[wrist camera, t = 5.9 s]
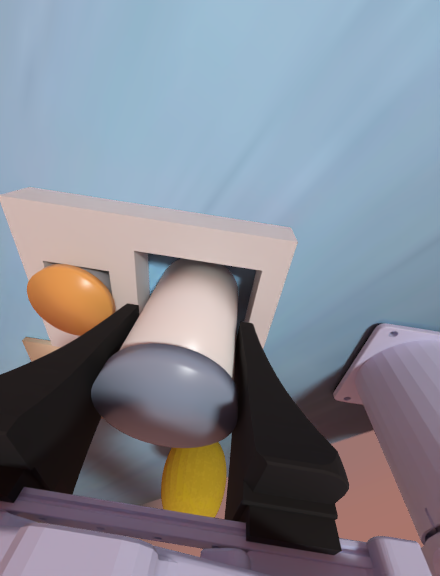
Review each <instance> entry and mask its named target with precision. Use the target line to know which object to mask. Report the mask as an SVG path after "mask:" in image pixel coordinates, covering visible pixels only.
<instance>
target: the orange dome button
mask: <svg viewBox="0 0 440 576" xmlns="http://www.w3.org/2000/svg"><path fill="white" fill-rule="evenodd" d="M27 294H28V298H29V301H30V303H31V305H32V306H33V308H34V309H35V311H36V312H37V313H38V314H39V315H40V316H41V317H42V318H43V319H44V320H45V321H46V322H48V323H49V324H51V325H52V326H54V327H55V328H57V329H59V330H61V331H64V332H66V333H69V334H73V335H78V336H81V335H83V334H84V333H86V332H87V331H89V330H91V329H92V328H94V327H95V326H96V325H98V324H99V323H101V322H102V321H104V320H105V319H106V318H108V317H109V316H110V315H112V314H113V313H115V303H114V299H113V297H112V290H111V283H110V276H109V271H104V270H98V269H92V268H85V267H79V266H73V265H68V264H53V265H49V266H47V267H45V268H43V269H42V270H40V271H39V272H37V273H36V274H35V275H33V276H32V277H31V279H30V280H29V282H28V285H27Z"/></svg>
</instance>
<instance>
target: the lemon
mask: <svg viewBox="0 0 440 576" xmlns="http://www.w3.org/2000/svg"><path fill="white" fill-rule="evenodd" d="M225 484H226V462H225V456H224V453H223V450H222V447H221V446H220V444H219V443H218V442H216V443H214V444H211V445H207V446H202V447H195V448H173V447H172V448H171V450H170V452H169V455H168V457H167V460H166V463H165V466H164V470H163V475H162V484H161V499H162V505H163V509H164V510H170V511H176V512H182V513H188V514H194V515H200V516H207V517H213V518H215V516H216V514H217V512H218V510H219V508H220V505H221V502H222V499H223V495H224V491H225Z"/></svg>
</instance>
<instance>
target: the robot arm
mask: <svg viewBox="0 0 440 576" xmlns="http://www.w3.org/2000/svg"><path fill="white" fill-rule="evenodd" d="M138 317H139V305H134V304H128V303H127V304H126V305H124V306H123V307H121V308H120V309H119V310H117V311H116V312H115V313H113V314H112V315H110V316H109V317H108V318H106V319H105V320H104V321H102V322H101V323H99V324H98V325H96V326H95V327H94V328H92V329H91V330H89V331H87V332H86V333H84V334H83V335H81V336H80V337H78V338H77V339H75V340H73V341H71V342H70V343H68V344H66V345H64V346H63V347H61V348H59V349H57V350H55V351H53V352H51V353H49V354H47V355H45V356H43V357H41V358H39V359H36V360H34V361H32V362H30V363H28V364H26V365H23V366H21V367H18V368H16V369H14V370H11V371H9V372H6V373H3V374H1V375H0V576H440V332H437V331H431V330H424V329H418V328H412V327H405V326H399V325H393V324H380V325H378V326H377V327H376V328H375V329H374V331H373V332H372V334H371V335H370V337H369V338H368V340H367V341H366V343H365V345H364V346H363V348H362V349H361V351H360V352H359V354H358V355H357V357H356V359H355V360H354V362H353V363H352V365H351V366H350V368H349V369H348V371H347V372H346V374H345V376H344V377H343V379H342V380H341V382H340V383H339V385H338V386H337V388H336V389H335V391H334V393H333V396H334V399H335V400H337V401H342V402H348V403H355V404H361V405H363V406H364V408H365V410H366V413H367V415H368V417H369V420H370V422H371V424H372V427H373V429H374V431H375V434H376V436H377V438H378V441H379V443H380V445H381V448H382V450H383V453H384V455H385V457H386V460H387V462H388V464H389V466H390V469H391V471H392V474H393V476H394V478H395V481H396V483H397V485H398V488H399V490H400V492H401V495H402V497H403V500H404V502H405V504H406V507H407V509H408V511H409V514H410V516H411V518H412V521H413V523H414V525H415V528H416V530H417V532H418V535H419V537H420V539H421V541H422V543H423V545H424V546H423V547H422V548H420V546H419V544H418V543H417V542H416V541H411V540H405V539H398V538H392V537H385V536H377V537H373V538H371V539H370V540H368V542H360V541H354V540H348V539H342V538H339V537H338V532H337V527H336V523H335V520H336V519H337V516H338V515H337V511H336V507H335V503H336V502H337V501H338V500H339V499H341V498H342V497H343V496H344V495H345V494H346V492H347V491H348V489H349V482H348V479H347V476H346V472H345V469H344V467H343V464H342V462H341V459H340V457H339V454H338V452H337V451H336V449H335V448H334V447H333V446H332V445H331V444H330V443H329V442H328V441H327V440H326V439H325V438H324V437H323V436H322V435H321V434H320V433H319V432H318V431H317V429H316V428H315V427H314V426H313V425H312V424H311V423H310V421H309V420H308V419H307V418H306V417H305V415H304V414H303V413H302V411H301V410H300V409H299V408H298V406H297V405H296V404H295V402H294V401H293V400H292V398H291V397H290V396H289V394H288V393H287V391H286V390H285V388H284V387H283V385H282V384H281V382H280V381H279V379H278V377H277V376H276V374H275V372H274V370H273V368H272V367H271V365H270V363H269V361H268V359H267V357H266V355H265V353H264V350H263V348H262V346H261V344H260V341H259V339H258V336H257V333H256V331H255V327H254V325H253V323H248V322H242V321H240V326H239V330H238V334H237V339H236V350H235V369H234V382H235V385H236V387H237V390H238V419H237V424H236V426H235V428H234V430H233V431H232V441H231V453H230V466H229V477H228V489H227V499H226V510H225V519H219V518H213V517H207V516H200V515H194V514H188V513H182V512H176V511H170V510H163V509H157V508H151V507H144V506H139V505H133V504H126V503H120V502H114V501H108V500H102V499H96V498H90V497H83V496H77V495H72V494H73V491H74V488H75V485H76V482H77V479H78V477H79V474H80V471H81V468H82V465H83V462H84V460H85V457H86V454H87V452H88V449H89V446H90V444H91V441H92V438H93V436H94V433H95V431H96V428H97V426H98V423H99V421H100V419H101V415H100V414H99V413H98V411H97V410H96V408H95V407H94V404H93V402H92V398H91V389H92V386H93V383H94V382H95V380H96V378H97V377H98V375H99V373H100V372H101V370H102V368H103V367H104V365H105V363H106V362H107V360H108V359H109V358H110V357H111V356H112V355H114V354H115V353H116V352H118V351H119V350H120V348H121V347H122V345H123V343H124V341H125V340H126V338H127V336H128V334H129V333H130V331H131V329H132V328H133V326H134V324H135V322H136V321H137V319H138ZM390 332H392V333H390ZM35 521H37V522H35ZM38 522H43V523H38ZM47 523H49V524H47ZM54 524H55V525H54ZM60 525H61V526H60ZM66 526H68V527H66ZM72 527H74V528H72ZM78 528H80V529H78ZM84 529H86V530H84ZM90 530H92V531H90ZM96 531H98V532H96ZM103 532H104V533H103ZM109 533H110V534H109ZM115 534H117V535H115ZM121 535H123V536H121ZM126 536H129V537H126ZM130 537H135V538H141V539H148V540H154V541H160V542H166V543H172V544H178V545H185V546H190V547H197V548H202V549H203V550H202V551H201V556H200V557H196V556H192V555H189V554H185V553H181V552H177V551H173V550H169V549H165V548H161V547H157V546H153V545H151V544H149V543H147V542H144V541H142V540H139V539H135V538H130Z"/></svg>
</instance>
